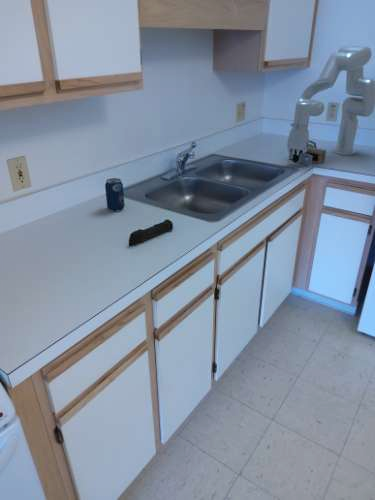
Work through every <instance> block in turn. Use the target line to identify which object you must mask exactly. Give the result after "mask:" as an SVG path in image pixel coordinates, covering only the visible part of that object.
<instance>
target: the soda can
mask: <svg viewBox="0 0 375 500" xmlns="http://www.w3.org/2000/svg"><path fill="white" fill-rule="evenodd" d="M104 186H105V187H104V190H105V198H106V207H107V209H108V210H109V209H110V210H113V211H117V210H121V211H123V210H124V208H125V206H126V205H125V196H124V195H125V193H124V184H123V182H122V180H121V179H120V178H116V177H114V178H107V179H106V180H105V184H104ZM122 209H123V210H122ZM110 210H109V211H110ZM113 211H112V212H113ZM117 212H118V211H117Z"/></svg>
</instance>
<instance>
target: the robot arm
mask: <svg viewBox="0 0 375 500" xmlns="http://www.w3.org/2000/svg"><path fill="white" fill-rule="evenodd" d="M372 54H373V53H372V49H371V48H370V47H368V46H366V45H365V46H363V45H362V46H359V45H345V46H342V47H340V48H339V49H338V51H337V52H333V53H331V54H330V56H329V57H328V58H327V59H328V60H327V61H326V63H325V65H324V67H323V68H322V71H321V72H320V74H319V76H318V78H317V79H316V80H315V81H313V82H312V83H310V84H309V85H308V86H307V87H306V88H305V89H303V91H302V93H301V95H300V97H299V99H298V101H297V103H296V104H295V107H294V108H295V109H294V115H293V123H290V127H292V128H290V132H289V134H288V138H287V143H286V144H287V145H286V147H287V150H288V151H289V150H290V151H291V152H292V154H293V159H292V163H295V164H296V163H297V162H298V163H299V156H300V154H301V153H305V152H307V148H308V141H309V139H310V138H309V137H310V136H309V135H310V131H309V121H310V117H319V116H321V115H322V114H323V113H324V111H325V104H324V103H323V102H322V101H320V100H316V99H315V100H314V99H312V98H313V96H315V95H316V94H318V93H320V92H322V91H325V90H328V89H330V88H333V86H334V85H335V83H336V81H337V79H338V77H339V75H340V73H341V72H342V71H343V72H346V78H345V91H346V94H347V95H349V96H348V97H346V98H345V99H344V100H343V102H342V104H341V118H340V119H341V120H340V126H339V130H338V135H337V141H336V147H335V148H333V149H332V152H333V153H334V154H337V155H341V156H351V155H352V156H353V155H354V154H355V153H356V151H355V150H353V149H354V146H355V145H354V144H355V140H356V134H357V130H358V126H359V120H358V117H362V118H364V117H365V118H368V117H370V116H371V115H372V114H373V113H374V110H375V80H374V78H370V77H364V67H365V65H367V64H368V62H369V61H370V60H371V58H372ZM297 150H298V151H297ZM290 151H289V152H290Z"/></svg>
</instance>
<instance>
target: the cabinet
mask: <svg viewBox="0 0 375 500" xmlns="http://www.w3.org/2000/svg"><path fill="white" fill-rule="evenodd" d="M305 153H306V154H309V155H312V163H311V164H317V165H320V164H322V163H323V162H325V159H326V155H327V149H324V148H323V149H321V148H318V147H317V148H311V147H308V148H307V152H305Z"/></svg>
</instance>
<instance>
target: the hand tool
mask: <svg viewBox="0 0 375 500" xmlns="http://www.w3.org/2000/svg"><path fill="white" fill-rule="evenodd" d="M173 229H174V224H173V221H171V220H169V219H165V220H163V221H162V222H159V223H156V224H154V225H152V226H150V227H148V228H145V229H142V228H139V229H137V230H134V231H132V232H131V233H130V235H129V238H128V246H131V247H132V246H137V245H140V244H142V243H145V241H147V240H148V239H151V238H154V237H155V236H158V235H160V234H162V233H165V231H166V232H168V231H172V230H173ZM139 243H140V244H139Z"/></svg>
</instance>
